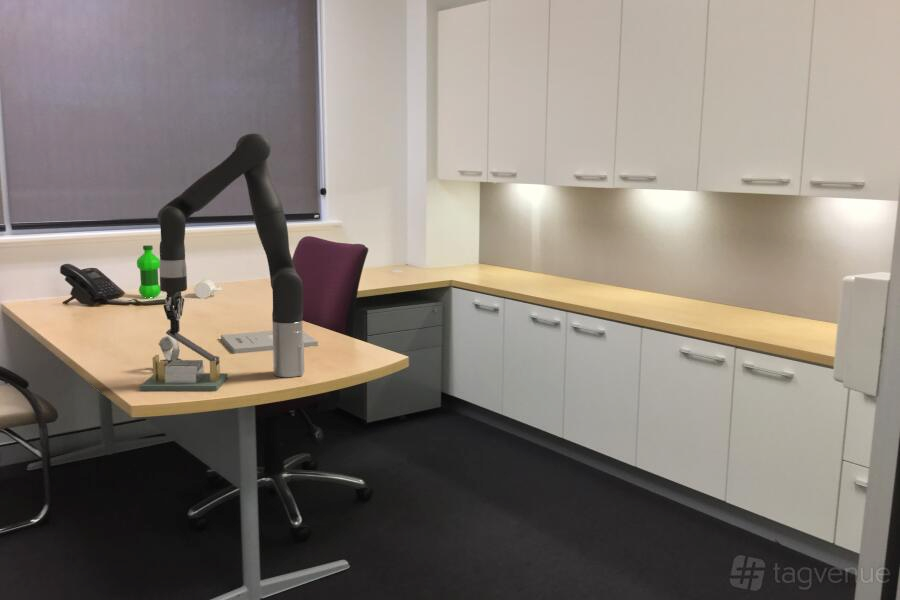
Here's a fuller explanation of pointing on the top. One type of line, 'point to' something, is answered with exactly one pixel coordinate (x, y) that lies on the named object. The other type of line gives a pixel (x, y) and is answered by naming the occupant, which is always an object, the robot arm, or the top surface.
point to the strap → (192, 346)
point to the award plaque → (257, 341)
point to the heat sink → (184, 371)
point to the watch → (169, 348)
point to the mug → (205, 288)
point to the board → (201, 385)
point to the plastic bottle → (149, 273)
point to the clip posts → (160, 366)
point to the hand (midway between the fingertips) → (175, 332)
